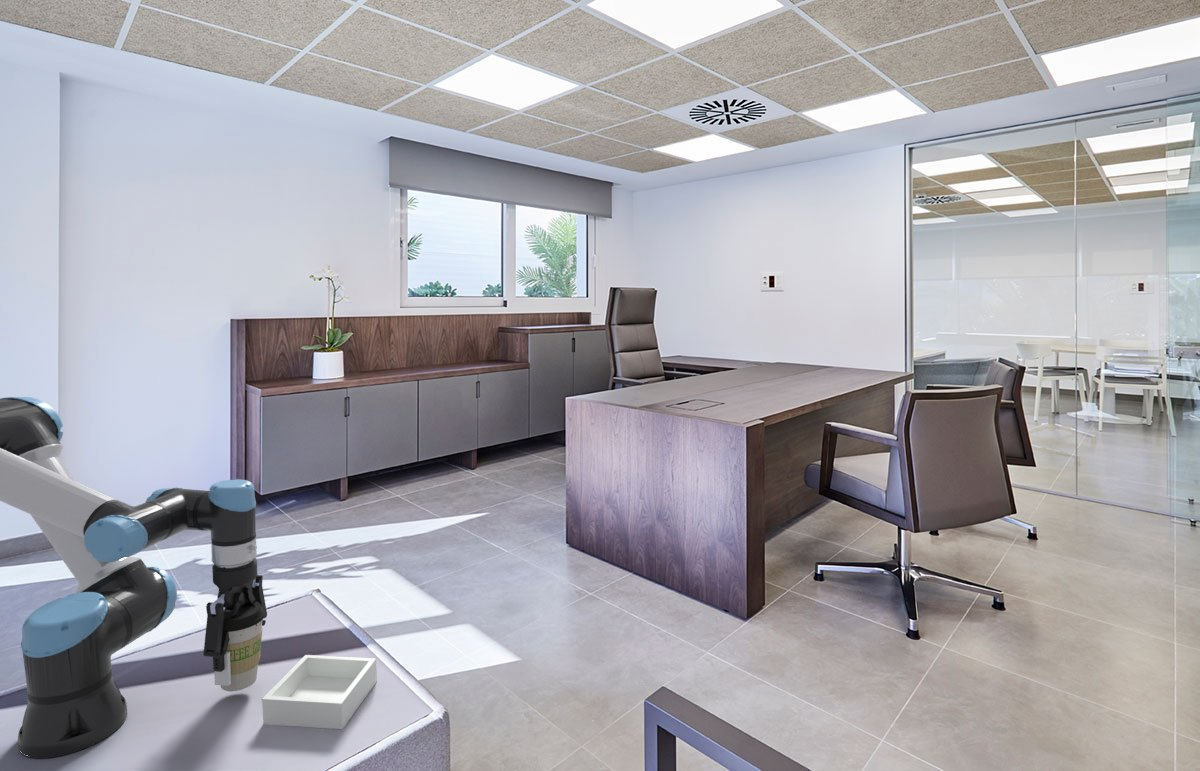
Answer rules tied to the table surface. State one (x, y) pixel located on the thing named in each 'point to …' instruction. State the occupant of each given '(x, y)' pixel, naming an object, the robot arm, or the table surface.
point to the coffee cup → (244, 645)
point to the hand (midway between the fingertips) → (238, 670)
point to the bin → (320, 692)
